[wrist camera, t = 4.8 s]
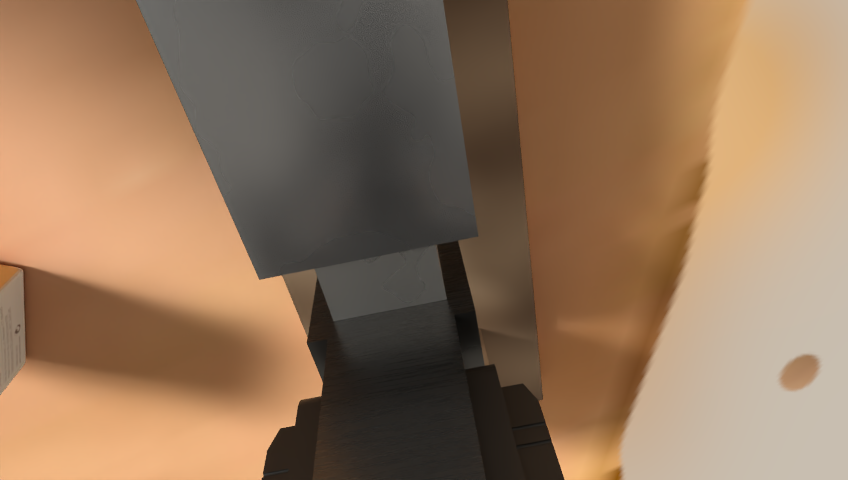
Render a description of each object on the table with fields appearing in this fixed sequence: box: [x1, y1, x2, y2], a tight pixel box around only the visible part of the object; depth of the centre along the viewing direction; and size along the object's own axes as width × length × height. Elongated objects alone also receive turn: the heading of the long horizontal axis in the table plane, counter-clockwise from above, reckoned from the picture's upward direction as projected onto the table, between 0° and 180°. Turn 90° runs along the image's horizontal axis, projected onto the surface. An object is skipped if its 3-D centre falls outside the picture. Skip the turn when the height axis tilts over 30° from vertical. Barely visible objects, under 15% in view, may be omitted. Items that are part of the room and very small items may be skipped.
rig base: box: [282, 0, 543, 400], centre depth 18 cm, size 29×10×6 cm, turn 11°
